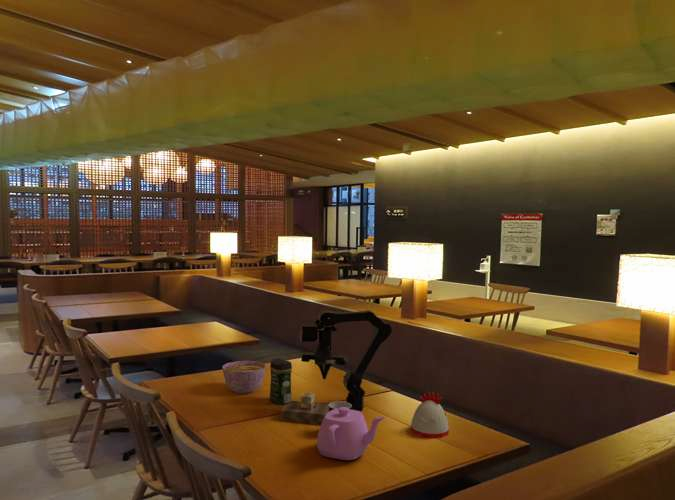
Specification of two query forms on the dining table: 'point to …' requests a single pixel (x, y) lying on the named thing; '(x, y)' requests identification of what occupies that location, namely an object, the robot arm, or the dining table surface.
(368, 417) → the dining table surface
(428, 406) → the kitchen timer
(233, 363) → the bowl of food
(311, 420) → the grey block with hole
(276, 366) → the coffee jar
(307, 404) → the wooden post
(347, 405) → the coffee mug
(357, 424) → the teapot
